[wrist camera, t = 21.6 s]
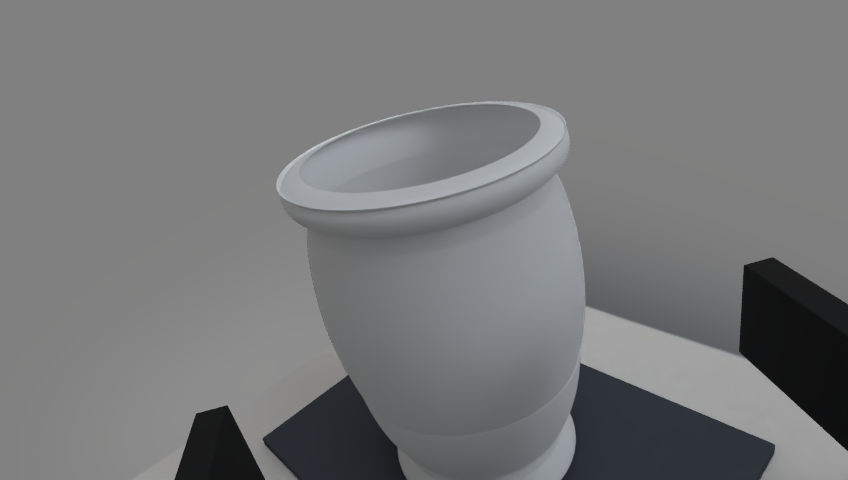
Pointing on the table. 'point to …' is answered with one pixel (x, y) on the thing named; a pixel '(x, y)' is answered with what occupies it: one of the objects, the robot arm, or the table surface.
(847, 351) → the robot arm
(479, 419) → the jar
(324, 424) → the mat
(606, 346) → the table surface
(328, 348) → the table surface
